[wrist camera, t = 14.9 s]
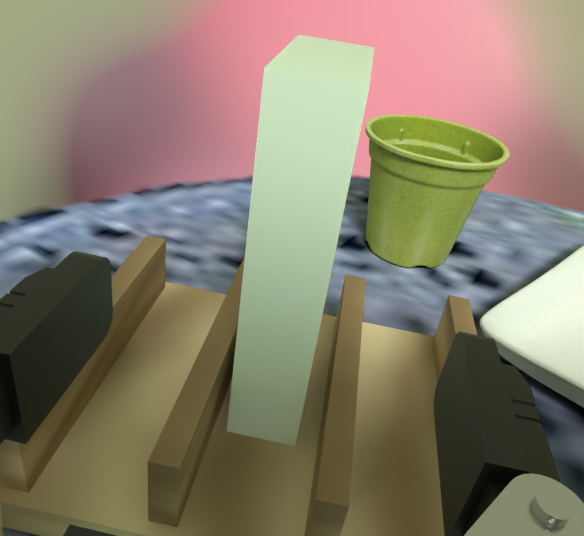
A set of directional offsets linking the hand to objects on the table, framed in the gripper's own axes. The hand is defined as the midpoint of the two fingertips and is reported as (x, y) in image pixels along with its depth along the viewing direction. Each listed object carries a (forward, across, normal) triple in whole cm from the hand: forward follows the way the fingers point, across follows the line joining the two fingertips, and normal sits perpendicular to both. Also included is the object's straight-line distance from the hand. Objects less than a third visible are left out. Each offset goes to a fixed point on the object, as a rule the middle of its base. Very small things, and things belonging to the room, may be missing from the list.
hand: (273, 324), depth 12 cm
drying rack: (+7, 0, +11) cm, 13 cm away
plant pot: (+26, -6, +11) cm, 29 cm away
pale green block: (+8, 0, +10) cm, 12 cm away
